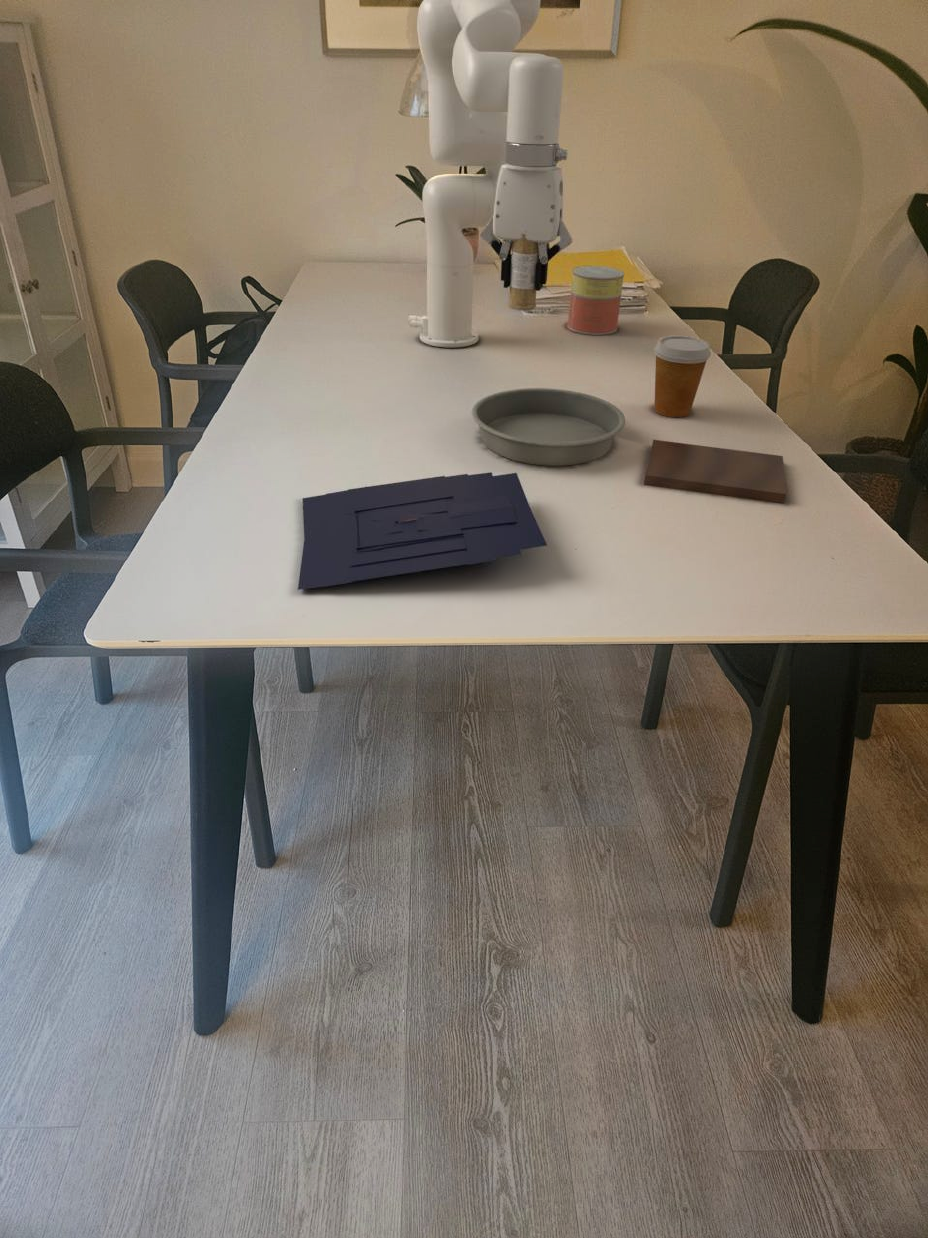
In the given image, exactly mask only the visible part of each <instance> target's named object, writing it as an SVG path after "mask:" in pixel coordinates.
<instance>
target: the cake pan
mask: <svg viewBox="0 0 928 1238" xmlns="http://www.w3.org/2000/svg"><path fill="white" fill-rule="evenodd" d="M471 417H472V419H473V421H474V422H475V423H476V425H477V426H478V428H479V432H480V438H481V441H482V443H483V444H484V446H486V448H488V449H489V450H490V451H492V453H493V452H494V453H495V454H497V455H498V456H501V457H503V458H506V459H508V460H511V461H515V462H519V463H523V464H529V465H536V466H547V467H548V466H550V467H559V466H561V467H563V466H573V465H580V464H585V463H589V462H593V461H596V460H598V459H600V458H601V457H603V456H605V455H606V454H607V453H608V452H609V451H610V449H611V448H612V445H613V443H614V440H615V437H616V435H618V434H619V433H620V432H621V431H622V430H623V429H624V427H625V425H626V418H625V415H624V413H623V412H622V411H621V409H619V408H618V407H617V406H615V405H614V404H613V403H611V402H609V401H608V400H605V399H602V398H600V397H597V396H594V395H591V394H588V393H583V392H579V391H574V390H567V389H559V388H545V387H544V388H543V387H530V388H529V387H528V388H515V389H509V390H503V391H500V392H495V393H492V394H489V395H487V396H485V397H483V398H481V399H480V400H478V401H477V402H476V403H475V404H473V406H472V409H471Z"/></svg>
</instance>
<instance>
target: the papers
mask: <svg viewBox="0 0 928 1238" xmlns="http://www.w3.org/2000/svg"><path fill="white" fill-rule="evenodd" d="M528 501H529V500H528V498H527V496H526V494H525V490H524V489H523V485H522V483H521V481H520V478H519V476H518V473H517V472H512V473H505V474H498V475H493V472H492V471H490V472H482V473H473V474H468V473H464V474H463V473H462V474H456V475H449V476H445V475H439V476H434V477H425V478H419V479H413V480H405V481H399V482H391V483H390V482H389V483H383V484H378V485H371V486H363V487H356V488H349V489H347V490H346V489H345V490H341V491H335V492H329V493H325V494H320V495H314V496H307V497H302V520H303V546H302V555H301V562H300V571H299V578H298V586H297V590H298V591H299V590H307V589H314V588H324V587H332V586H338V585H343V584H349V583H355V582H358V581H364V580H371V579H377V578H383V577H384V578H385V577H391V576H397V575H403V574H411V573H418V572H424V571H430V570H437V569H443V568H451V567H457V566H462V567H464V566H469V565H474V564H482V563H488V562H494V561H495V560H496V559H501V558H509V557H515V556H520V555H523V553H522V550H528V549H533V548H540V547H545V546H548V544H547V541H546V539H545V537H544V534H543V533H542V530H541V528H540V526H539V524H538V522H537V519H536V517H535V515H534V513H533V510H532V509H531V506H530V504H529V502H528Z"/></svg>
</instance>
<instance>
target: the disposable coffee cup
mask: <svg viewBox="0 0 928 1238" xmlns="http://www.w3.org/2000/svg"><path fill="white" fill-rule="evenodd" d="M710 349H711V348H710V344H709V342H708V341H706V340H704V339H701V338H698V337H695V336H687V335H667V336H663V337H660V338H659V339H658V340H657V343H656V345H654V348H653V351H654V354H655V373H654V375H655V376H654V377H655V379H654V385H655V386H654V405H653V406H654V407H653V409H654V411H655V412H656V413H657V414H659V415H662V416H665V417H669V418H683V417H688V416H689V415H690V414H691V411H692V408H693V405H694V401H695V398H696V396H697V392H698V390H699V389H698V388H699V386H700V383H701V380H702V377H703V373H704V370H705V366H706V364H707V361H708V360H709V358H710V357H711V355H712V352H711V351H710Z"/></svg>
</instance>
